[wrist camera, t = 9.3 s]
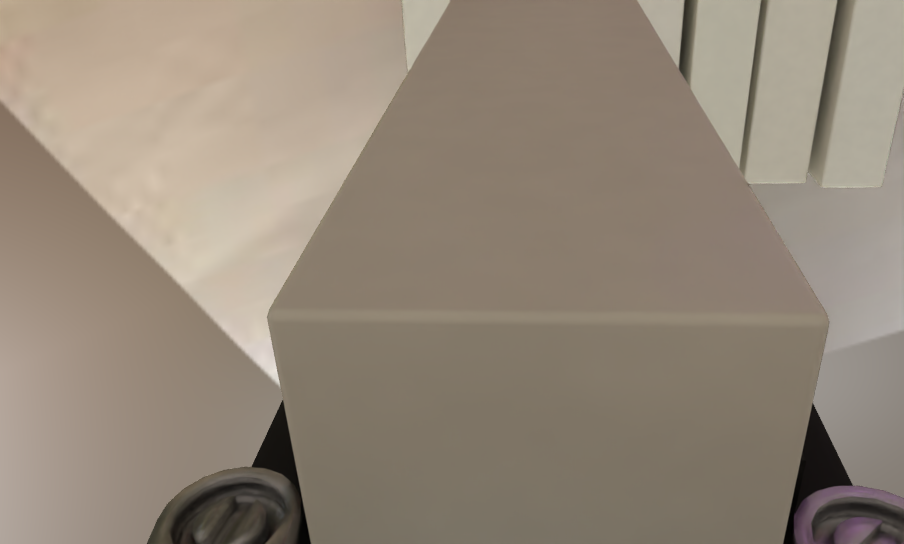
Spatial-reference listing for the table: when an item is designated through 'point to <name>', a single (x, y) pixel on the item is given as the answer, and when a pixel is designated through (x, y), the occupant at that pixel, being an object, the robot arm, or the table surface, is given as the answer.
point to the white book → (546, 305)
